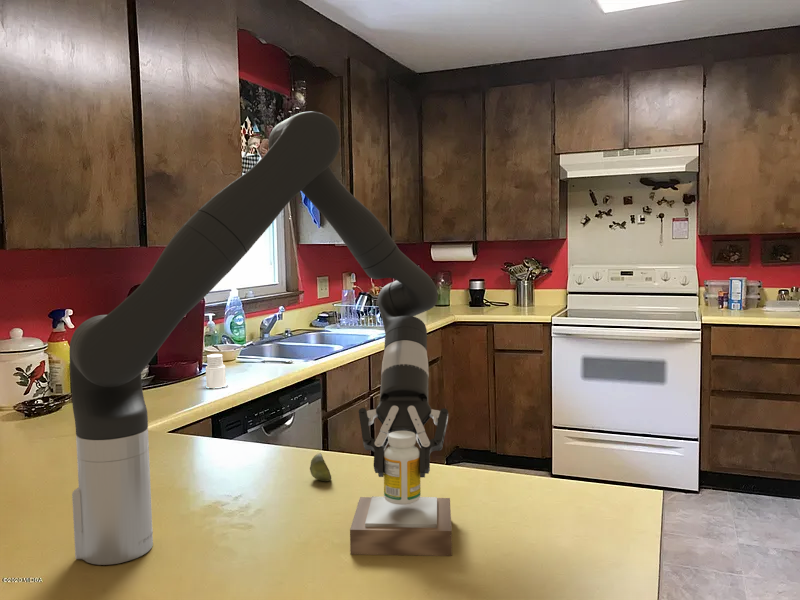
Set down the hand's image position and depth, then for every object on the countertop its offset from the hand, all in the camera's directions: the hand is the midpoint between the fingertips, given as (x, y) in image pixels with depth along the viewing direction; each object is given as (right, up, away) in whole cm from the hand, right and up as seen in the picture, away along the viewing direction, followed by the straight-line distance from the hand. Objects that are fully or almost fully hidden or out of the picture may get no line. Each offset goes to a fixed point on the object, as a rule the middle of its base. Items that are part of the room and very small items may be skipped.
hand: (401, 474), depth 95 cm
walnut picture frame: (0, -10, +2) cm, 10 cm away
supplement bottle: (0, -4, +2) cm, 5 cm away
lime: (-15, -8, +26) cm, 31 cm away
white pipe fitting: (-57, -2, +110) cm, 123 cm away
